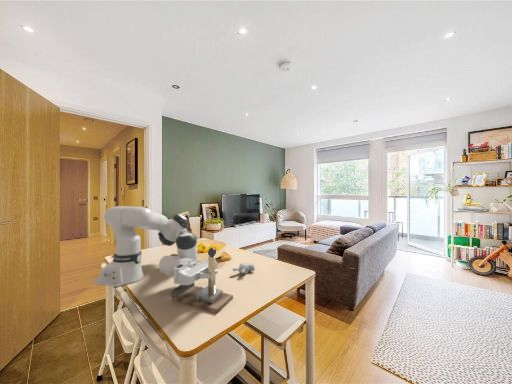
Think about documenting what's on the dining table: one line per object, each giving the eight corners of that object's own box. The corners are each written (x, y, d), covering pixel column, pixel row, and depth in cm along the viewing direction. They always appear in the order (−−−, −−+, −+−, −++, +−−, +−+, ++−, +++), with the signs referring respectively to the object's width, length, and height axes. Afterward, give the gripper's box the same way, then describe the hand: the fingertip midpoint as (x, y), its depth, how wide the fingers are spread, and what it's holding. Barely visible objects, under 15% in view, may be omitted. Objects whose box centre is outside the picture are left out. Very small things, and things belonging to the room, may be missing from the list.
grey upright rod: (196, 300, 84) (196, 249, 84) (210, 290, 93) (211, 244, 93) (210, 304, 81) (210, 251, 81) (223, 293, 90) (224, 245, 90)
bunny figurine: (258, 263, 123) (245, 268, 110) (257, 271, 122) (244, 277, 109) (245, 260, 128) (231, 264, 115) (244, 268, 127) (230, 274, 114)
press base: (171, 299, 88) (171, 289, 88) (190, 287, 99) (190, 278, 99) (217, 313, 78) (217, 301, 78) (232, 298, 89) (233, 288, 89)
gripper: (202, 267, 101) (226, 272, 96) (171, 285, 83) (198, 292, 77) (203, 255, 101) (226, 259, 96) (171, 269, 83) (198, 275, 77)
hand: (213, 274), depth 86 cm, fingers closed on grey upright rod, 3 cm apart
